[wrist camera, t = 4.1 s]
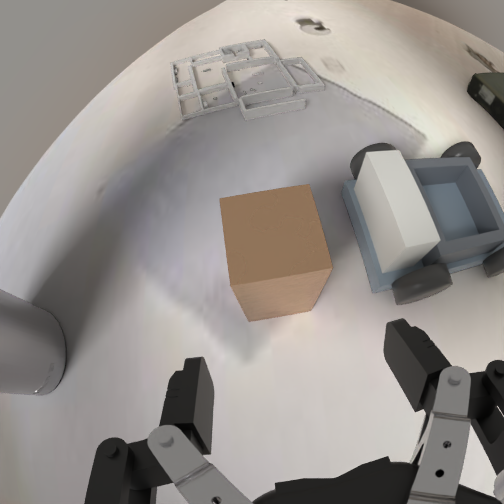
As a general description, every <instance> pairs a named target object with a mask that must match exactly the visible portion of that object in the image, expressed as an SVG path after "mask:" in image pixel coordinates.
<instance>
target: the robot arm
mask: <svg viewBox="0 0 504 504" xmlns="http://www.w3.org/2000/svg"><path fill="white" fill-rule="evenodd" d="M384 357H385V360H386V362H387V364H388V365H389V367H390V369H391V370H392V372H393V374H394V376H395V377H396V379H397V381H398V383H399V384H400V386H401V388H402V390H403V391H404V393H405V395H406V397H407V399H408V400H409V402H410V404H411V406H412V408H413V409H414V411H415V412H417V411H420V410H422V409H424V410H425V412H426V414H425V417H424V420H423V424H422V427H421V431H420V434H419V438H418V441H417V444H416V447H415V450H414V453H413V455H412V458H411V460H410V462H409V463H407V462H390V459H389V457H388V456H387V457H384V458H381V459H378V460H375V461H372V462H368V463H365V464H362V465H360V466H358V467H356V468H354V469H353V470H351V471H349V472H347V473H345V474H343V475H341V476H339V477H336V478H303V479H297V480H291V481H285V482H278V483H275V490H272V491H269V492H267V493H265V494H263V495H262V496H260V497H258V498H257V499H255V500H254V501H253V502H251V501H250V500H249V499H248V498H247V497H245V496H244V495H243V494H242V493H241V492H240V491H239V490H238V489H237V488H236V487H235V486H234V485H233V484H232V483H231V482H230V481H229V480H228V479H227V478H226V477H225V476H224V475H223V474H222V473H221V472H220V471H219V470H218V469H217V468H216V467H215V466H214V465H213V464H211V463H209V462H208V461H207V460H206V459H205V458H204V457H203V455H209V454H211V443H212V424H213V406H214V386H213V382H212V379H211V376H210V373H209V370H208V368H207V365H206V362H205V359H204V357H195V358H186V359H185V363H184V368H183V370H182V371H175V373H174V374H173V375H172V377H171V378H170V379H169V383H168V388H167V390H168V391H167V392H166V398H165V401H164V406H163V411H162V415H161V420H160V425H159V427H158V428H156V429H154V430H153V431H152V432H151V433H150V435H149V437H148V438H147V439H145V440H142V441H138V442H133V443H129V444H127V443H126V442H125V441H124V440H122V439H120V438H109V439H106V440H104V441H103V442H102V443H101V444H100V445H99V446H98V448H97V451H96V455H95V459H94V463H93V467H92V471H91V475H90V479H89V484H88V488H87V493H86V498H85V503H84V504H156V493H157V486H162V485H166V484H170V483H174V484H175V486H176V488H177V489H178V491H179V492H180V493H181V494H182V496H183V497H184V498H185V499H186V501H187V502H188V503H189V504H504V417H503V415H504V361H502V360H494V361H492V362H490V363H489V364H488V365H487V368H486V370H485V371H482V372H476V373H468V372H467V371H466V370H465V369H464V368H462V367H458V366H452V365H451V364H450V363H449V361H448V360H447V359H446V358H445V356H444V355H443V354H442V353H441V351H440V350H439V349H438V348H437V346H435V344H434V343H433V341H432V340H430V338H429V336H428V335H427V334H426V333H425V332H424V331H423V330H421V329H419V328H418V327H416V326H414V327H411V326H410V325H409V324H408V323H407V321H406V320H405V319H403V318H402V319H398V320H395V321H391V322H388V323H387V325H386V333H385V341H384ZM65 361H66V347H65V340H64V336H63V333H62V329H61V327H60V325H59V323H58V322H57V320H56V319H55V318H54V316H53V315H52V314H50V313H49V312H48V311H46V310H43V309H41V308H39V307H36V306H34V305H32V304H31V303H29V302H27V301H25V300H23V299H20V298H18V297H16V296H14V295H12V294H9V293H7V292H5V291H3V290H1V289H0V393H10V394H24V395H45V394H48V393H50V392H51V391H52V390H54V389H55V387H56V386H57V385H58V383H59V381H60V379H61V378H62V375H63V371H64V368H65ZM497 406H498V407H499V409H500V410H501V412H502V413H503V415H502V414H501V412H500V411H499V409H498V407H497ZM470 423H471V425H472V427H473V429H474V431H475V433H476V434H477V436H478V438H479V440H480V442H481V444H482V446H483V448H484V450H485V452H486V454H487V456H488V458H489V460H490V462H491V464H492V466H493V468H494V471H495V473H496V475H497V477H496V479H495V482H494V491H493V493H494V495H495V497H492V496H489V495H486V494H484V493H481V492H478V491H476V490H473V489H471V488H468V487H466V486H463V485H461V484H459V480H460V476H461V472H462V468H463V463H464V458H465V453H466V448H467V443H468V437H469V430H470Z"/></svg>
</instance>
